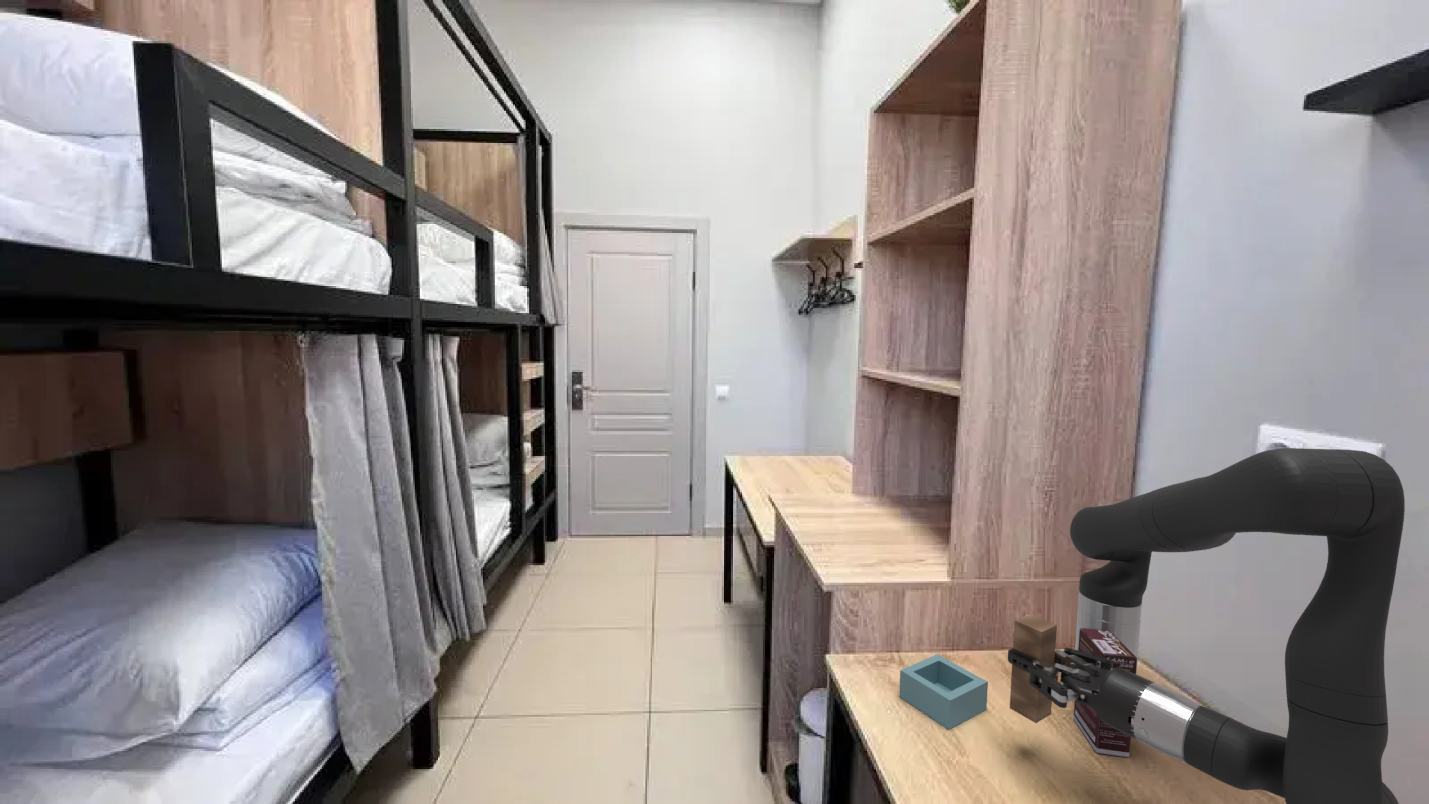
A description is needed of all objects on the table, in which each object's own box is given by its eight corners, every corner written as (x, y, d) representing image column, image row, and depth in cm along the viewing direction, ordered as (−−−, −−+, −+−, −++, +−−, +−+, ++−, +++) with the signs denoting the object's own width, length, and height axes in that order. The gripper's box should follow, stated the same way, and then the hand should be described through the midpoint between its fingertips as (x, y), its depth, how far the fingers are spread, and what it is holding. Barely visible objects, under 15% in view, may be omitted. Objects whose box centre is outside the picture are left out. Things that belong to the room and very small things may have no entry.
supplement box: (1131, 759, 84) (1139, 658, 83) (1095, 754, 85) (1102, 654, 84) (1104, 721, 92) (1110, 629, 91) (1071, 717, 93) (1077, 626, 92)
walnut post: (1009, 708, 85) (1014, 620, 84) (1024, 699, 87) (1029, 613, 86) (1036, 723, 82) (1041, 632, 80) (1051, 714, 84) (1056, 624, 82)
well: (899, 697, 99) (900, 670, 98) (936, 680, 104) (937, 654, 104) (948, 729, 90) (950, 700, 90) (986, 709, 95) (987, 681, 95)
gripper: (1177, 668, 74) (1045, 615, 89) (1125, 704, 67) (991, 639, 82) (1172, 721, 75) (1042, 659, 90) (1121, 762, 68) (988, 688, 82)
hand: (1018, 650), depth 86 cm, fingers closed on walnut post, 4 cm apart
